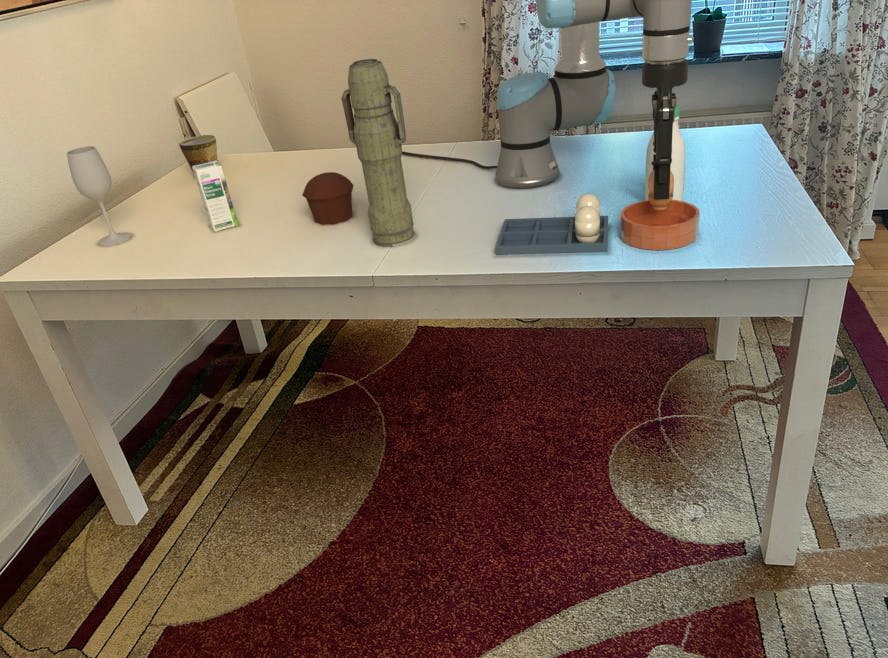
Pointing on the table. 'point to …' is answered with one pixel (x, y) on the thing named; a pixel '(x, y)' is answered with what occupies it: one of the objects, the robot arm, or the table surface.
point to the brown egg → (659, 203)
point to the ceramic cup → (199, 149)
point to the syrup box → (215, 195)
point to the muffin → (329, 198)
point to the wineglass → (93, 184)
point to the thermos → (379, 149)
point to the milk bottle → (677, 160)
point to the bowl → (659, 225)
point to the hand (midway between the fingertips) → (660, 193)
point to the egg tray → (547, 237)
